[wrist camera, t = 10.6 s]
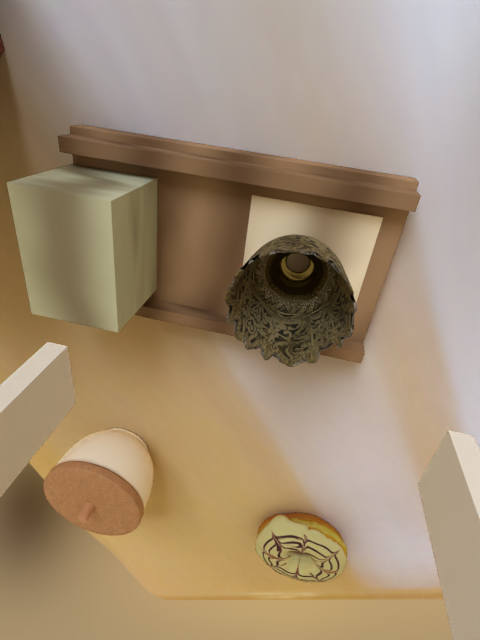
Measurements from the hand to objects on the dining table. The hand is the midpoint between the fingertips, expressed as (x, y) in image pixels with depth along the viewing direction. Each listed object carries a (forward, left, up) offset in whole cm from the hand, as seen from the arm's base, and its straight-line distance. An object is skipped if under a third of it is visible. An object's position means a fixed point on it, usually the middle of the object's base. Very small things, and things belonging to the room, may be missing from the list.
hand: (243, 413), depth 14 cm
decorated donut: (+37, +8, -20) cm, 42 cm away
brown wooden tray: (+1, -5, -19) cm, 20 cm away
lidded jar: (+29, -15, -19) cm, 38 cm away
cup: (+1, +1, -18) cm, 18 cm away
